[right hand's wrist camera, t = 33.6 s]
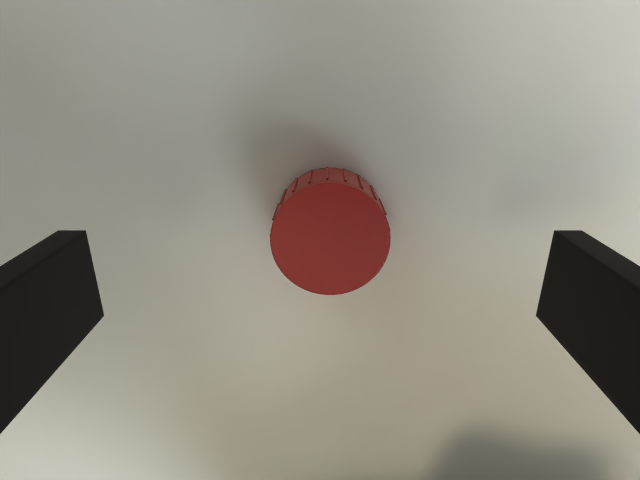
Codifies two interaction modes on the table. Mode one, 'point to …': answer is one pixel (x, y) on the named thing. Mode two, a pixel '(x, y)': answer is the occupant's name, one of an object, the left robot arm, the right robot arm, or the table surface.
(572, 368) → the table surface
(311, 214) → the cap
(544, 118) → the table surface
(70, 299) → the right robot arm
